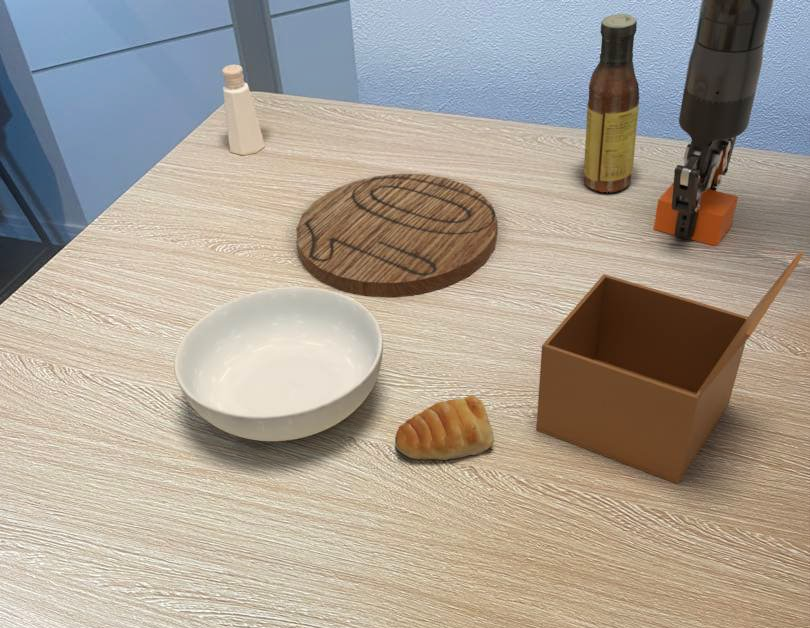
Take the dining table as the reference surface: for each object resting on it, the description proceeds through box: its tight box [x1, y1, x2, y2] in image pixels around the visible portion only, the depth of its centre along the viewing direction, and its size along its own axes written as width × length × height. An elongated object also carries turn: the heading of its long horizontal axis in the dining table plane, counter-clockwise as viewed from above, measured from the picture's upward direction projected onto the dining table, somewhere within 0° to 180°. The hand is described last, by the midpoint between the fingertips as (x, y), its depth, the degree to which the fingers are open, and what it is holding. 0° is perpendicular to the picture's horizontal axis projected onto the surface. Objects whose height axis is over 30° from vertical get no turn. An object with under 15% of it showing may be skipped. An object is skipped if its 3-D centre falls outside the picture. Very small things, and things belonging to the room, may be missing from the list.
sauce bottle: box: [583, 13, 640, 194], centre depth 113 cm, size 7×6×20 cm
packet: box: [653, 181, 739, 247], centre depth 111 cm, size 8×5×4 cm, turn 57°
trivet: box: [295, 173, 498, 298], centre depth 114 cm, size 25×25×2 cm
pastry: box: [394, 394, 495, 461], centre depth 89 cm, size 9×7×4 cm
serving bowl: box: [173, 286, 384, 442], centre depth 93 cm, size 21×21×7 cm
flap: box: [699, 251, 804, 393], centre depth 77 cm, size 7×13×1 cm
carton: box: [535, 273, 749, 485], centre depth 87 cm, size 15×13×10 cm
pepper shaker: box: [221, 64, 266, 156], centre depth 129 cm, size 5×5×11 cm
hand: (692, 224), depth 112 cm, fingers closed on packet, 5 cm apart
